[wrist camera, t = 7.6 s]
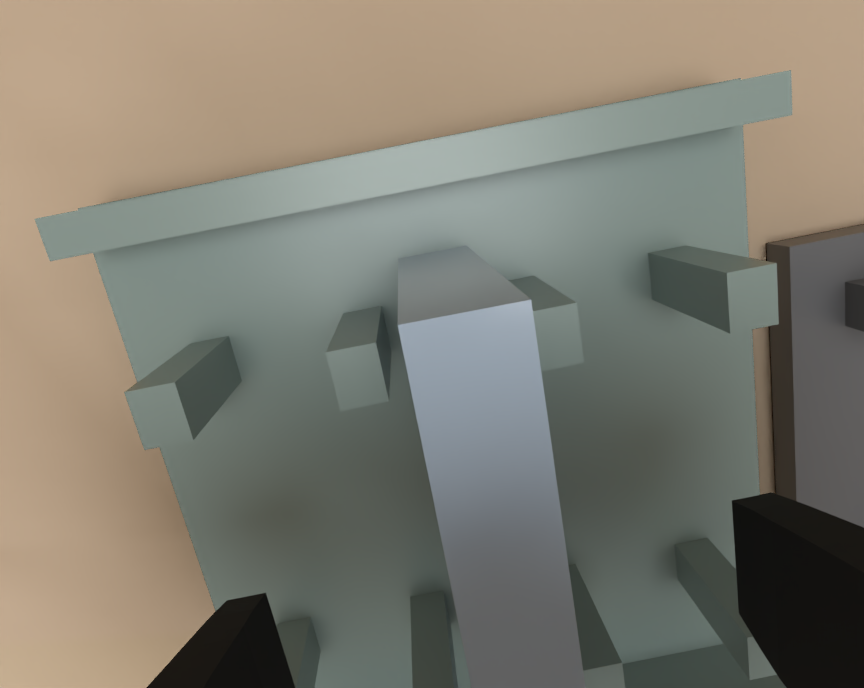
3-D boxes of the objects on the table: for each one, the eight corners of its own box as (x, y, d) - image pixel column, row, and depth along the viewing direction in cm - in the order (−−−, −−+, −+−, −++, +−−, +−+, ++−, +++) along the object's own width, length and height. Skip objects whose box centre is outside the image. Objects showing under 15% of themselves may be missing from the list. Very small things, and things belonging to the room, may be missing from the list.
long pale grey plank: (532, 647, 14) (623, 955, 9) (477, 658, 14) (530, 973, 9) (466, 245, 12) (531, 299, 6) (398, 258, 12) (397, 325, 6)
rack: (745, 633, 16) (856, 776, 12) (275, 727, 16) (235, 901, 12) (713, 87, 12) (859, 39, 8) (103, 207, 12) (-34, 214, 8)
